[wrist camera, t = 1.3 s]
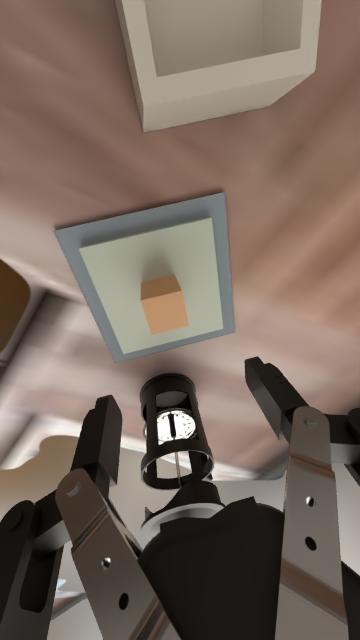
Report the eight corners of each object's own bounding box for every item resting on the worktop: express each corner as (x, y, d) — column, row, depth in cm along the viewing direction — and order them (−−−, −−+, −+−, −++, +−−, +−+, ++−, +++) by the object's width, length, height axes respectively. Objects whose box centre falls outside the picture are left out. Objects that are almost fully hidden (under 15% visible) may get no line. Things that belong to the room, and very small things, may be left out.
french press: (124, 394, 34) (100, 658, 14) (167, 361, 32) (208, 613, 12) (172, 423, 40) (201, 643, 20) (211, 396, 38) (287, 610, 18)
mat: (223, 192, 22) (224, 192, 22) (233, 330, 31) (234, 332, 31) (55, 230, 22) (53, 231, 21) (115, 360, 31) (115, 362, 30)
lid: (208, 217, 23) (228, 221, 17) (220, 324, 30) (237, 350, 25) (81, 246, 22) (62, 260, 17) (124, 348, 29) (120, 381, 24)
